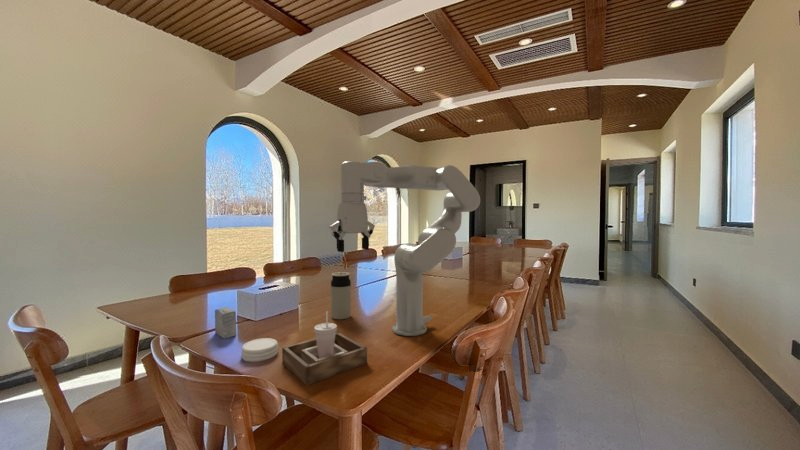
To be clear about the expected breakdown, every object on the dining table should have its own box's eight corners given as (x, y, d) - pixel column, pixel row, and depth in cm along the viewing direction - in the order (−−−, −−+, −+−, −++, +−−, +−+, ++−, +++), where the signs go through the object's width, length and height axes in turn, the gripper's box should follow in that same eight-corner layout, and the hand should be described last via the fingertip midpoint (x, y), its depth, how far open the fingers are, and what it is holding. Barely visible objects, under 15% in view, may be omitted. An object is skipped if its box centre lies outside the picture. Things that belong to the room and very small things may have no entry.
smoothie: (325, 367, 87) (325, 316, 87) (309, 361, 91) (308, 312, 90) (342, 358, 93) (341, 310, 92) (325, 353, 96) (325, 306, 96)
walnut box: (338, 346, 103) (338, 332, 103) (367, 363, 91) (367, 348, 91) (282, 362, 92) (282, 347, 92) (306, 385, 80) (306, 367, 80)
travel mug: (348, 320, 130) (348, 275, 129) (329, 319, 130) (328, 275, 129) (352, 313, 138) (351, 271, 137) (333, 313, 138) (333, 271, 137)
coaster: (241, 365, 91) (240, 353, 91) (242, 351, 100) (242, 340, 100) (279, 358, 95) (278, 347, 95) (276, 346, 104) (276, 335, 104)
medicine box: (236, 335, 113) (236, 311, 113) (222, 339, 110) (222, 313, 109) (228, 330, 118) (227, 306, 118) (214, 333, 115) (214, 309, 115)
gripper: (367, 200, 116) (367, 247, 117) (323, 199, 105) (324, 251, 106) (380, 199, 111) (380, 249, 111) (335, 198, 99) (336, 253, 100)
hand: (353, 250), depth 108 cm, fingers open, 9 cm apart
